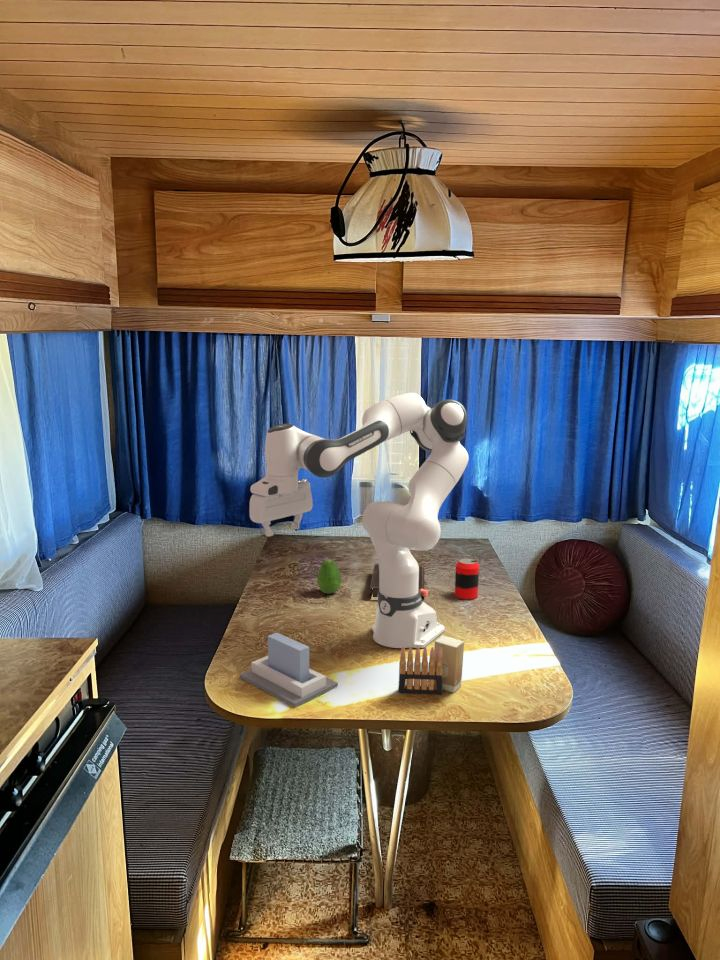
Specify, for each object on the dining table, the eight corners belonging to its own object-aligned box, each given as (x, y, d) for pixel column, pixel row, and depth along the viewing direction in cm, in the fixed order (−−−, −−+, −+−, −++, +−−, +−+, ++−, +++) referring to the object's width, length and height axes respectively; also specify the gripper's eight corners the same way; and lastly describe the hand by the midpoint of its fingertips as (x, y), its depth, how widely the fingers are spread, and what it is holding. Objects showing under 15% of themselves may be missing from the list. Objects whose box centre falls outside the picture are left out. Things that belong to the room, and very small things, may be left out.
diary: (424, 578, 258) (424, 564, 257) (424, 604, 234) (425, 590, 233) (372, 575, 260) (372, 562, 259) (366, 601, 235) (367, 586, 234)
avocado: (314, 596, 238) (313, 561, 236) (322, 587, 246) (322, 554, 243) (337, 598, 236) (337, 563, 234) (344, 590, 244) (344, 556, 241)
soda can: (479, 600, 236) (481, 565, 234) (456, 600, 236) (457, 565, 234) (475, 591, 244) (477, 557, 241) (453, 591, 243) (454, 557, 241)
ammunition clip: (441, 691, 177) (443, 645, 175) (442, 695, 176) (443, 649, 173) (398, 689, 178) (399, 644, 176) (398, 693, 176) (399, 647, 174)
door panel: (277, 668, 186) (276, 632, 184) (309, 684, 178) (309, 646, 176) (268, 672, 184) (267, 636, 182) (300, 688, 176) (299, 650, 174)
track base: (281, 659, 193) (281, 647, 193) (337, 686, 179) (337, 673, 179) (239, 677, 183) (239, 665, 183) (295, 707, 169) (295, 694, 169)
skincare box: (431, 686, 180) (433, 640, 177) (439, 679, 183) (441, 634, 181) (454, 693, 176) (456, 647, 174) (462, 686, 180) (464, 640, 177)
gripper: (302, 476, 207) (302, 523, 210) (245, 487, 193) (246, 537, 196) (317, 479, 203) (317, 527, 206) (260, 491, 189) (261, 542, 191)
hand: (282, 532), depth 201 cm, fingers open, 8 cm apart
